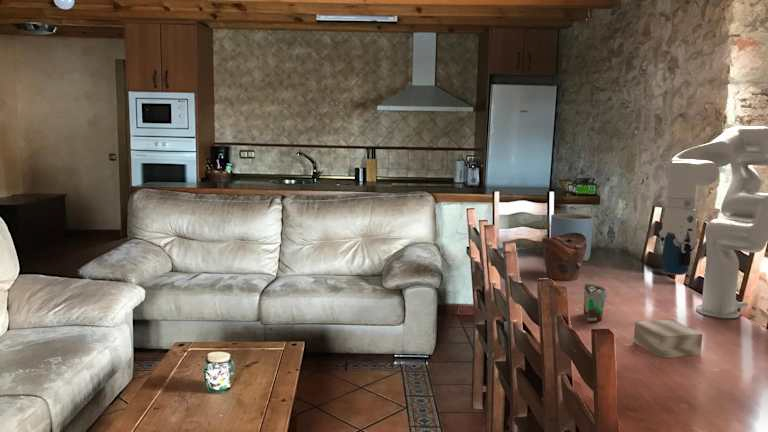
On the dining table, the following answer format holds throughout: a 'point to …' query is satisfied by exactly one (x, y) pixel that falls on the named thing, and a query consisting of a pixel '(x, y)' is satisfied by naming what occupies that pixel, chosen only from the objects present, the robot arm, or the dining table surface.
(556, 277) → the brown tapered round vessel
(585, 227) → the planter
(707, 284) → the robot arm
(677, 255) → the soda can
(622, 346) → the dining table surface
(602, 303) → the food container
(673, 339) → the ash block
